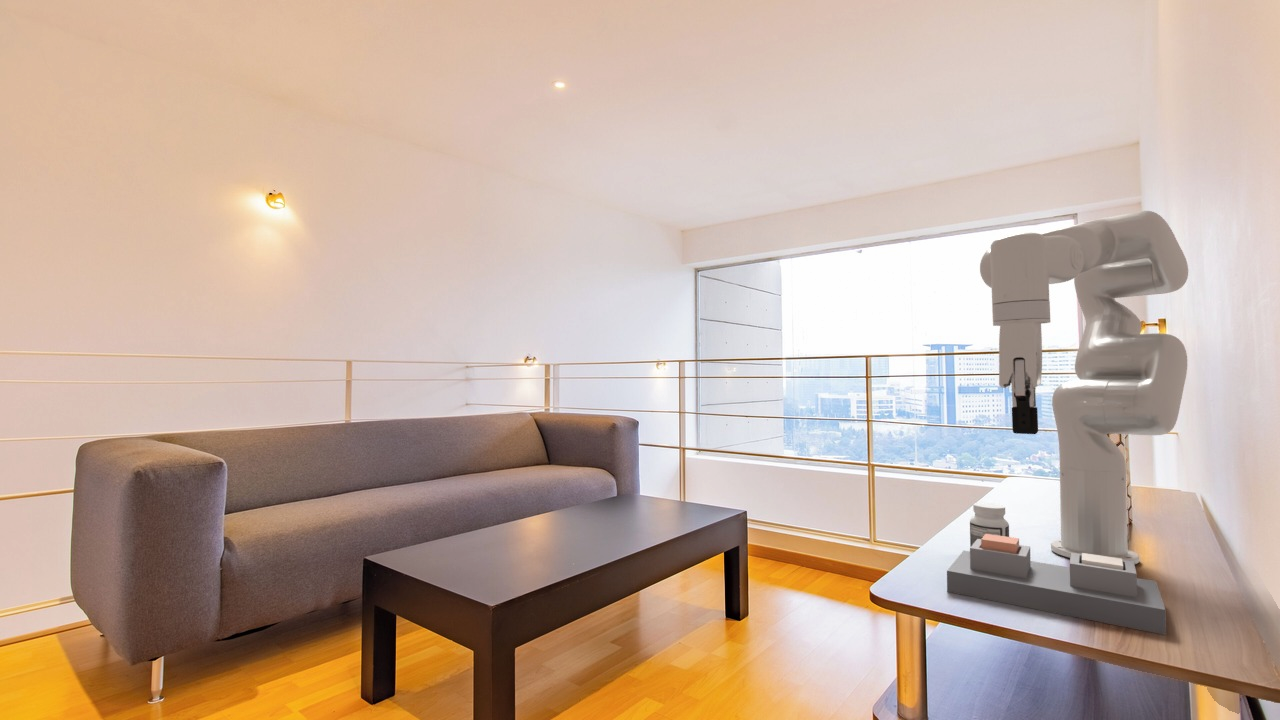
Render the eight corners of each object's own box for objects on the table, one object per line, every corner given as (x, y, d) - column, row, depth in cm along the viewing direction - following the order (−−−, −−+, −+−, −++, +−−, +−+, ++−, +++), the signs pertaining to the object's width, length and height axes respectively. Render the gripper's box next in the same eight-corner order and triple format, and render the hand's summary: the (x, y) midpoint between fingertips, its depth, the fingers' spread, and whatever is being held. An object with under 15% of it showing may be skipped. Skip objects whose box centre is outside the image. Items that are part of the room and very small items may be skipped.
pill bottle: (984, 557, 104) (984, 500, 105) (1017, 567, 99) (1016, 507, 100) (963, 561, 102) (962, 503, 102) (995, 571, 97) (994, 509, 97)
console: (963, 568, 98) (963, 532, 98) (1156, 602, 83) (1155, 559, 83) (947, 591, 87) (946, 549, 87) (1166, 635, 72) (1164, 584, 72)
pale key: (1082, 574, 84) (1082, 552, 85) (1122, 580, 82) (1121, 558, 82) (1082, 581, 81) (1081, 559, 81) (1123, 589, 78) (1123, 565, 78)
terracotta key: (985, 553, 92) (985, 533, 92) (1019, 558, 89) (1019, 538, 89) (981, 559, 88) (981, 539, 88) (1016, 565, 86) (1016, 544, 86)
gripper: (999, 318, 100) (1003, 427, 100) (985, 314, 88) (990, 437, 88) (1053, 315, 96) (1057, 429, 95) (1046, 310, 84) (1051, 440, 83)
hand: (1025, 433), depth 92 cm, fingers closed
